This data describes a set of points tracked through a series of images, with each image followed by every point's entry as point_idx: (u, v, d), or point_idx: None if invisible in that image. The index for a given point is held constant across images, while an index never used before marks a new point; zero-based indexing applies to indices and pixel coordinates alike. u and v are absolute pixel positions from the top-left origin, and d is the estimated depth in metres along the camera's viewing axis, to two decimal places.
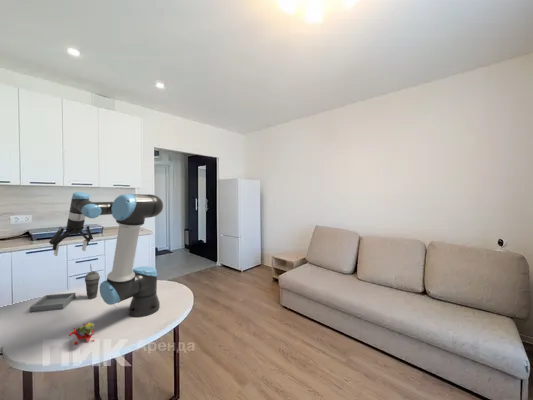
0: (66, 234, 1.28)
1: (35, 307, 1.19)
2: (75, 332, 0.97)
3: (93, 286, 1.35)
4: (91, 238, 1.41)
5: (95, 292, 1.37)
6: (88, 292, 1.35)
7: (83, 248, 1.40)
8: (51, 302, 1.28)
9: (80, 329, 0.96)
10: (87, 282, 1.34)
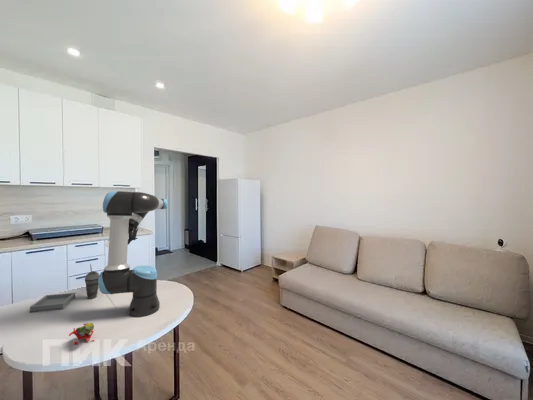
0: None
1: (35, 307, 1.19)
2: (75, 332, 0.97)
3: (93, 286, 1.35)
4: (132, 237, 1.51)
5: (95, 292, 1.37)
6: (88, 292, 1.35)
7: None
8: (51, 302, 1.28)
9: (80, 329, 0.96)
10: (87, 282, 1.34)
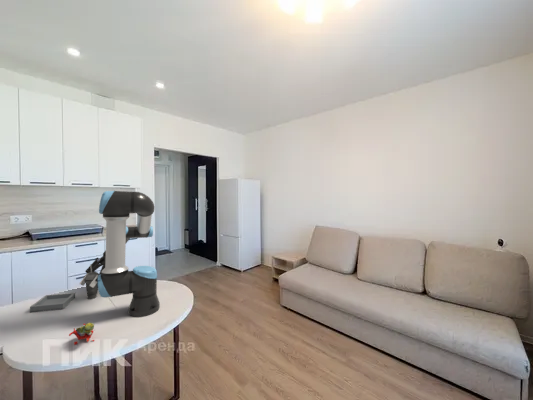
0: (97, 263, 1.43)
1: (35, 307, 1.19)
2: (75, 332, 0.97)
3: None
4: None
5: (95, 292, 1.37)
6: (88, 292, 1.35)
7: None
8: (51, 302, 1.28)
9: (80, 329, 0.96)
10: (87, 282, 1.34)
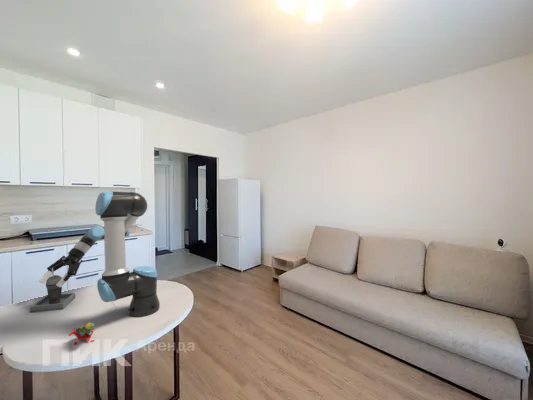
0: (61, 261, 1.33)
1: (35, 307, 1.19)
2: (75, 332, 0.97)
3: (55, 291, 1.25)
4: (71, 272, 1.27)
5: (58, 297, 1.27)
6: (49, 298, 1.25)
7: None
8: None
9: (80, 329, 0.96)
10: (48, 287, 1.24)
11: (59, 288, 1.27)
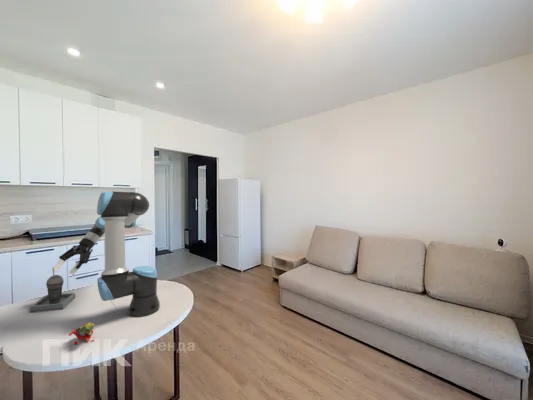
0: (72, 251, 1.40)
1: (35, 307, 1.19)
2: (75, 332, 0.97)
3: (55, 291, 1.25)
4: (83, 260, 1.33)
5: (58, 297, 1.27)
6: (50, 297, 1.25)
7: None
8: None
9: (80, 329, 0.96)
10: (48, 287, 1.24)
11: (59, 288, 1.27)
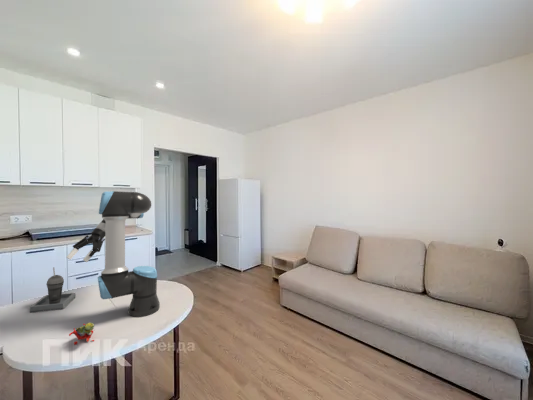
0: (85, 240, 1.46)
1: (35, 307, 1.19)
2: (75, 332, 0.97)
3: (55, 291, 1.26)
4: (96, 248, 1.39)
5: (58, 297, 1.27)
6: (50, 297, 1.25)
7: None
8: None
9: (80, 329, 0.96)
10: (49, 286, 1.24)
11: (60, 288, 1.27)
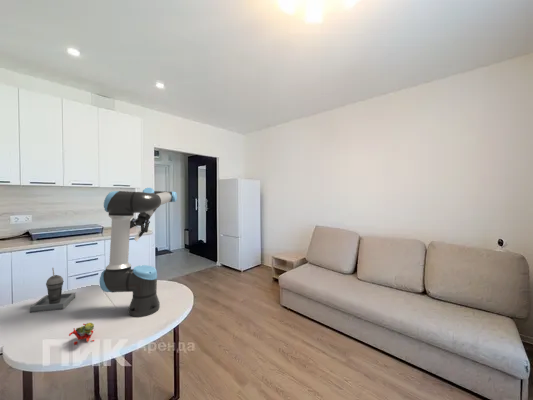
0: None
1: (35, 307, 1.19)
2: (75, 332, 0.97)
3: (55, 291, 1.25)
4: (144, 229, 1.53)
5: (58, 297, 1.27)
6: (50, 297, 1.25)
7: None
8: None
9: (80, 329, 0.96)
10: (48, 287, 1.24)
11: (59, 288, 1.27)
